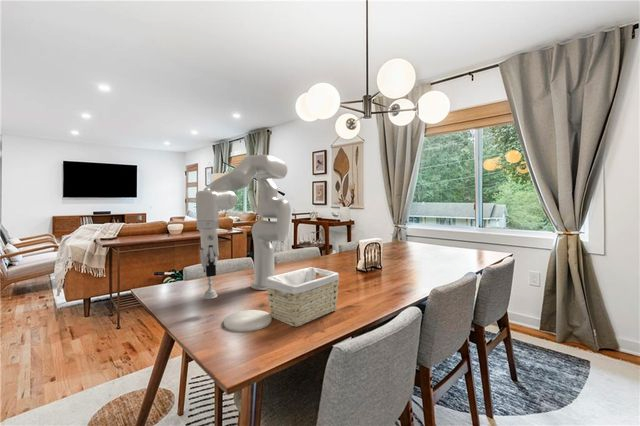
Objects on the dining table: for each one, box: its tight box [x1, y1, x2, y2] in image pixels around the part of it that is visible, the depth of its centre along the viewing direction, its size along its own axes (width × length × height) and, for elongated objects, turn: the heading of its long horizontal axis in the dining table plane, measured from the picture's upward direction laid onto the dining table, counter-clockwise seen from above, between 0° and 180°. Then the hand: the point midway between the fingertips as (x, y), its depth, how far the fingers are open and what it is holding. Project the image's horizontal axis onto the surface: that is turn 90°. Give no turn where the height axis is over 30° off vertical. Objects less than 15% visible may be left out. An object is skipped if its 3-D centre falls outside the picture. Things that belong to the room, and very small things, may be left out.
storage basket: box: [266, 266, 340, 328], centre depth 114 cm, size 24×16×15 cm
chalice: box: [198, 246, 219, 300], centre depth 113 cm, size 7×7×18 cm
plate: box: [223, 309, 272, 333], centre depth 107 cm, size 16×16×1 cm
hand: (209, 273), depth 113 cm, fingers closed on chalice, 6 cm apart
